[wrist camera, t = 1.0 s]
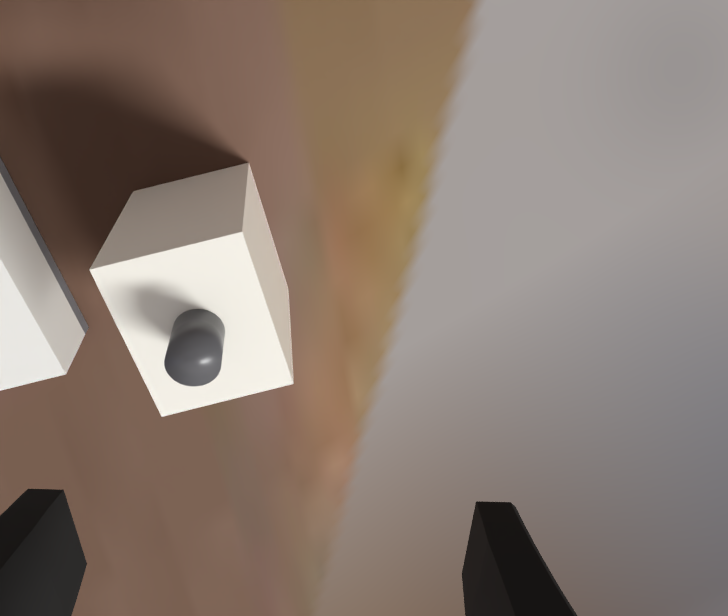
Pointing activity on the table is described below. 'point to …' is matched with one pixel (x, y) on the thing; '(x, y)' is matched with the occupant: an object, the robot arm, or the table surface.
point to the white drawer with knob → (198, 290)
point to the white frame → (32, 299)
